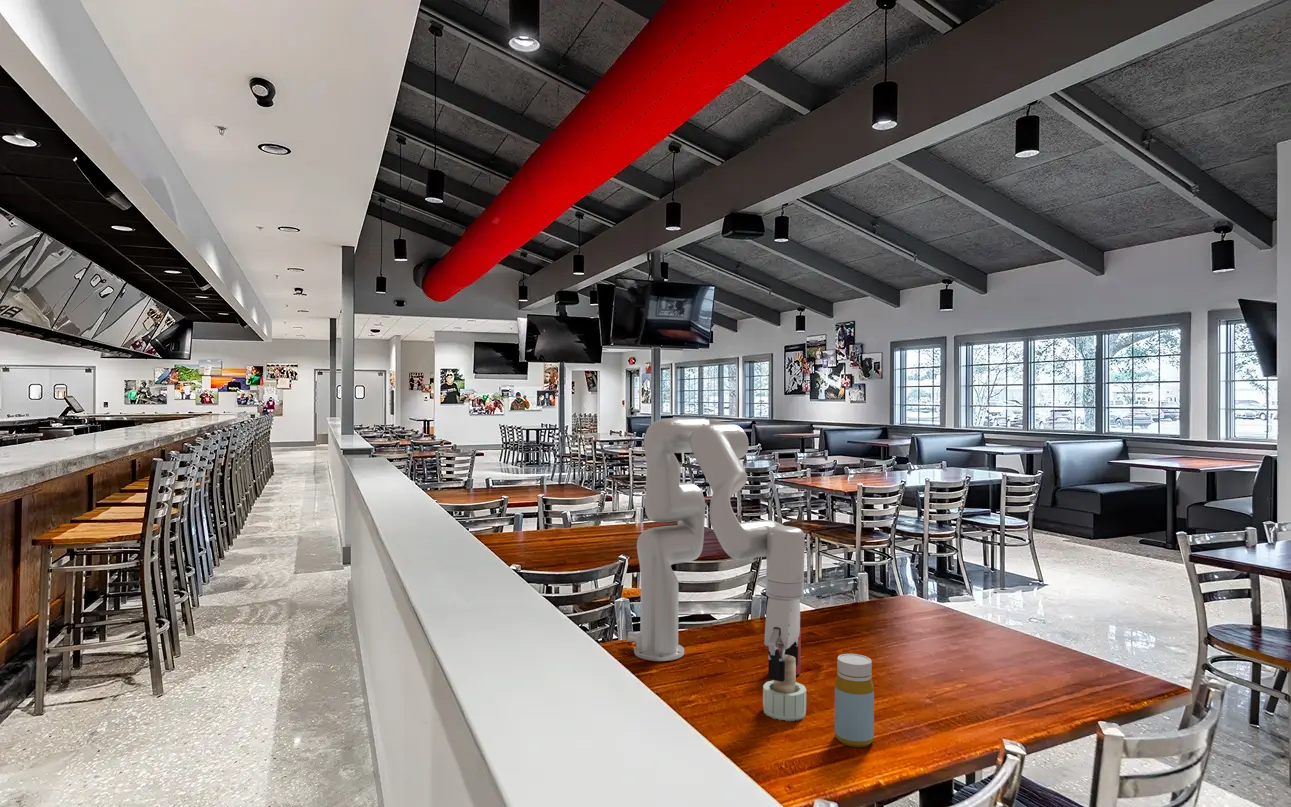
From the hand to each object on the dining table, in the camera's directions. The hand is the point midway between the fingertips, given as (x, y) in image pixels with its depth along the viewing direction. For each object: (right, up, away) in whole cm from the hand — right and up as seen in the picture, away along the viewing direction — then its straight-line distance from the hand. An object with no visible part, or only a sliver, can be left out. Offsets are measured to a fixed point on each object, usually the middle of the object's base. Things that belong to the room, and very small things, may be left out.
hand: (783, 672), depth 148 cm
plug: (0, -7, 0) cm, 7 cm away
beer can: (+5, -9, +22) cm, 24 cm away
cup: (0, -8, 0) cm, 8 cm away
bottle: (+11, -8, -13) cm, 18 cm away
